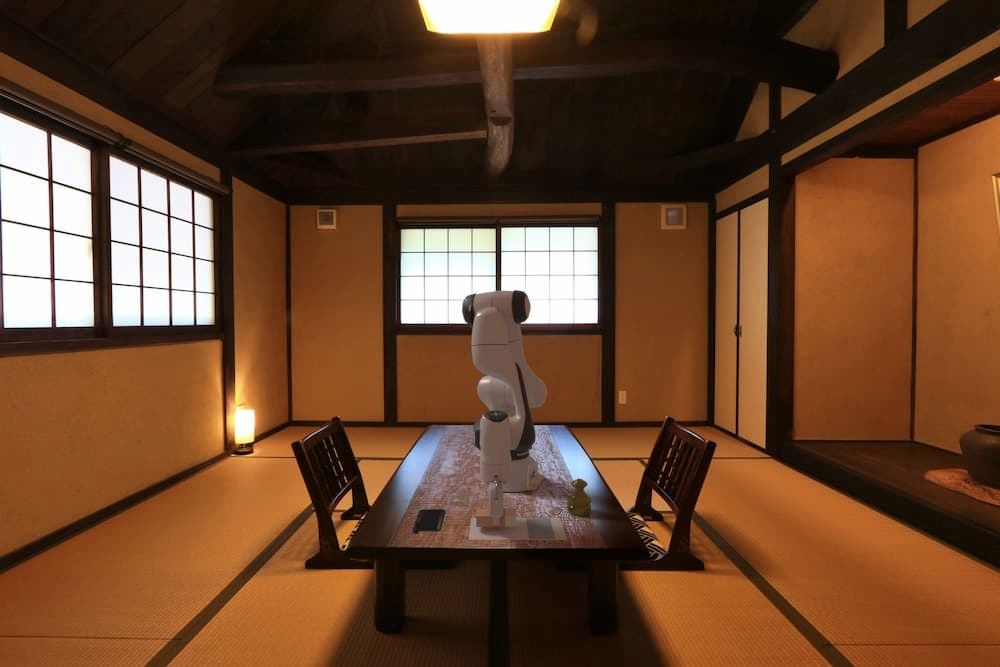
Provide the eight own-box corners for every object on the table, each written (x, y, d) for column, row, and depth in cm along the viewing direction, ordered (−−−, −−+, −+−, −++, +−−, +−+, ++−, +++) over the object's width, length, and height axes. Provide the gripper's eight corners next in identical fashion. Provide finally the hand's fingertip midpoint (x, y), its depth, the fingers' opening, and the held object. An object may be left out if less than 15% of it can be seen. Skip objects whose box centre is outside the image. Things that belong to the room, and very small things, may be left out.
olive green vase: (578, 518, 145) (578, 485, 145) (562, 510, 152) (562, 478, 151) (596, 513, 149) (596, 480, 149) (580, 505, 155) (580, 474, 155)
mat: (471, 520, 144) (471, 517, 144) (560, 520, 144) (560, 517, 144) (468, 541, 130) (468, 539, 130) (566, 541, 130) (566, 539, 130)
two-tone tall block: (476, 527, 135) (476, 516, 134) (476, 519, 140) (476, 508, 139) (516, 526, 135) (516, 515, 135) (515, 518, 140) (515, 508, 140)
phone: (445, 509, 150) (440, 530, 135) (445, 512, 150) (440, 534, 135) (419, 509, 150) (411, 530, 135) (419, 513, 150) (411, 534, 135)
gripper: (508, 483, 126) (508, 536, 127) (505, 459, 147) (505, 504, 147) (484, 483, 126) (484, 536, 127) (484, 459, 146) (484, 505, 147)
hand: (495, 519), depth 137 cm, fingers closed on two-tone tall block, 5 cm apart
